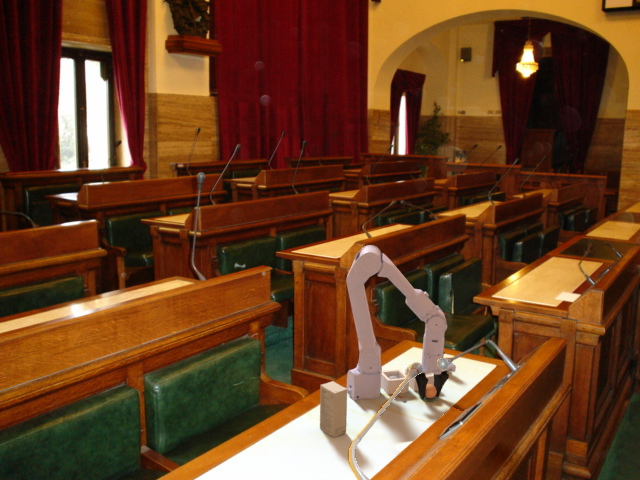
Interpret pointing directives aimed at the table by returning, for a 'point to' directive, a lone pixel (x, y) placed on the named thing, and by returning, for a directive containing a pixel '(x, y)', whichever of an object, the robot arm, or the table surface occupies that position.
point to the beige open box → (413, 382)
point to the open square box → (393, 381)
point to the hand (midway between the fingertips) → (429, 396)
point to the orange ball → (430, 391)
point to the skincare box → (333, 408)
